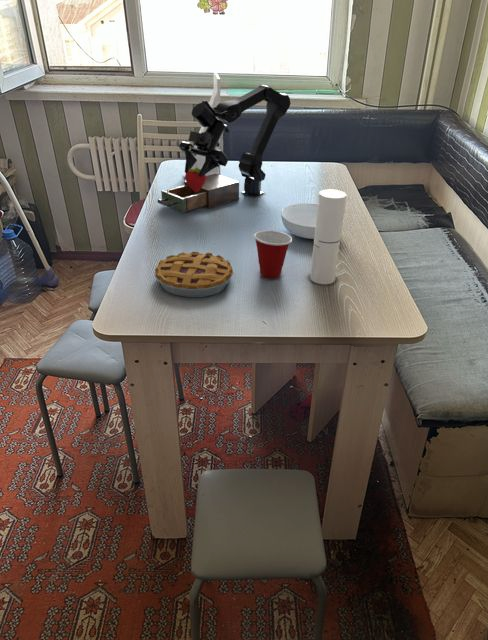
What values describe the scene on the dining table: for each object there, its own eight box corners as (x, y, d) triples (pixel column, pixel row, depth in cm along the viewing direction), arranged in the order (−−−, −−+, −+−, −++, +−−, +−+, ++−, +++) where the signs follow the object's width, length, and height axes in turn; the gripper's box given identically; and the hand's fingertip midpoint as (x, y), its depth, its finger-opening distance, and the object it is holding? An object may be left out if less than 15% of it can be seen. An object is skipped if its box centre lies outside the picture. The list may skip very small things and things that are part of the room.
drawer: (174, 216, 186) (173, 202, 183) (152, 207, 192) (151, 193, 189) (214, 203, 198) (214, 190, 195) (193, 195, 204) (192, 182, 201)
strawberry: (185, 189, 192) (184, 161, 186) (206, 189, 192) (206, 161, 187) (185, 194, 187) (183, 166, 181) (206, 195, 188) (205, 166, 182)
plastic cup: (297, 275, 154) (300, 236, 148) (272, 286, 148) (274, 247, 141) (269, 262, 160) (271, 225, 153) (244, 273, 154) (245, 234, 147)
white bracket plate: (183, 172, 230) (179, 69, 207) (216, 172, 232) (216, 70, 209) (185, 187, 214) (180, 77, 191) (220, 187, 216) (220, 78, 193)
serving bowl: (267, 232, 180) (268, 212, 176) (305, 217, 193) (307, 199, 189) (315, 251, 168) (317, 231, 164) (352, 234, 181) (355, 215, 177)
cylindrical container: (327, 286, 149) (339, 200, 135) (305, 279, 152) (314, 194, 138) (338, 277, 154) (350, 193, 140) (317, 270, 157) (326, 187, 143)
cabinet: (208, 208, 196) (208, 190, 192) (185, 199, 203) (184, 181, 199) (238, 198, 206) (239, 181, 202) (215, 190, 213) (215, 173, 209)
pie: (163, 262, 157) (162, 246, 155) (236, 266, 157) (236, 250, 155) (147, 298, 140) (146, 281, 137) (230, 302, 140) (230, 285, 137)
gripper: (180, 117, 183) (160, 156, 182) (222, 126, 175) (201, 167, 174) (196, 136, 193) (177, 173, 192) (236, 146, 185) (217, 185, 184)
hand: (192, 174), depth 185 cm, fingers closed on strawberry, 6 cm apart
